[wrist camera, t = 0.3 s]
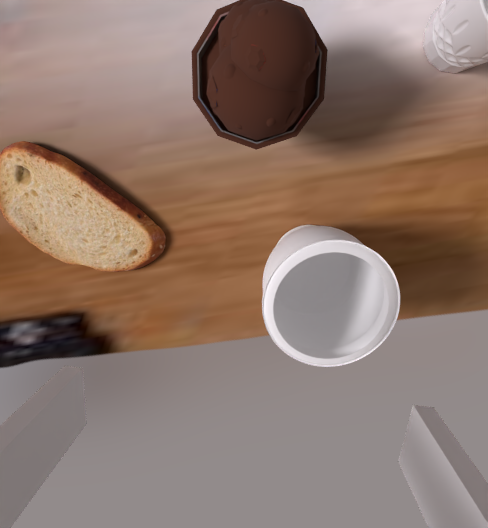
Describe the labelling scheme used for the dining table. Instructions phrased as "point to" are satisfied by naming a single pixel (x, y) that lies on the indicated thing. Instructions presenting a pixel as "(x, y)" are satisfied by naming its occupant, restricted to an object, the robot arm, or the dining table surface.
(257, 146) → the ice cream bowl
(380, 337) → the jar
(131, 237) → the slice of bread
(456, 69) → the white cup
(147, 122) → the dining table surface
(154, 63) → the dining table surface
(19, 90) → the dining table surface
